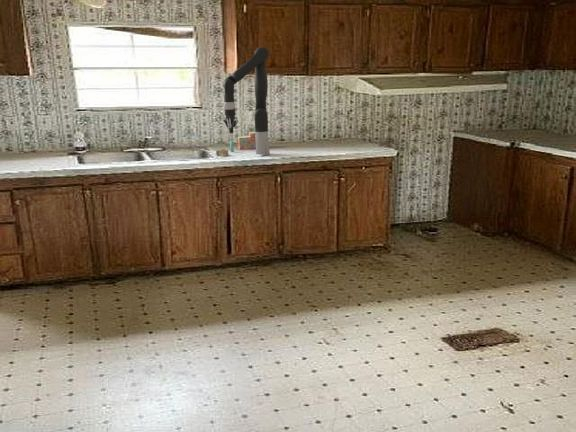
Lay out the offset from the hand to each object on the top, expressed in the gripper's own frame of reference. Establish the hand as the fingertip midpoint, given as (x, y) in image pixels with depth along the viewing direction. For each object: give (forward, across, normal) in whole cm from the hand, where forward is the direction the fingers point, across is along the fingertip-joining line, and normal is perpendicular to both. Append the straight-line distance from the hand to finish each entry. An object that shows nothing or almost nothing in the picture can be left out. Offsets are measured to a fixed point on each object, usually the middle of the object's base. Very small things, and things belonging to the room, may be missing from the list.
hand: (231, 133), depth 394 cm
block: (+16, +6, +4) cm, 18 cm away
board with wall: (+17, +5, +4) cm, 19 cm away
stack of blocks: (+18, +16, -36) cm, 43 cm away
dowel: (+17, +12, -10) cm, 23 cm away
